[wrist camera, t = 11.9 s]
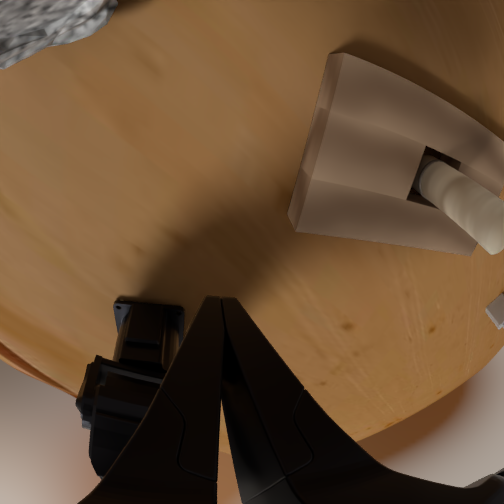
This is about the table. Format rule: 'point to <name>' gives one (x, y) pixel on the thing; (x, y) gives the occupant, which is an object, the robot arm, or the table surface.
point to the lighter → (497, 311)
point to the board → (386, 159)
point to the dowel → (462, 202)
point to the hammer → (47, 24)
